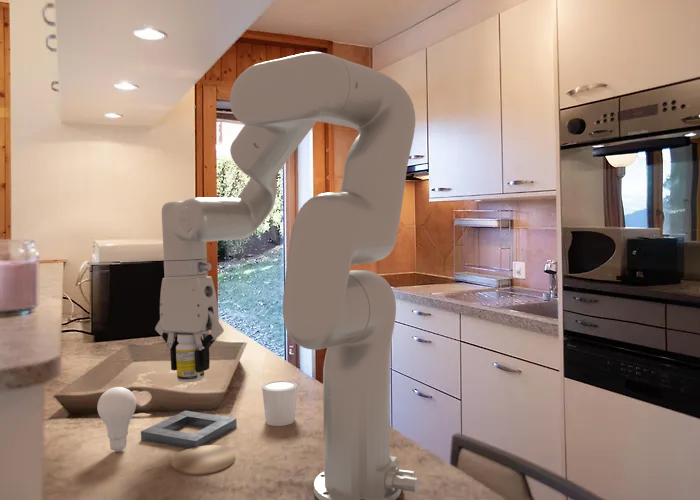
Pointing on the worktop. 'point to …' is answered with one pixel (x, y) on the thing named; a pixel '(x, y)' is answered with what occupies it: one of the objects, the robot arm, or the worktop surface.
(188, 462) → the coaster
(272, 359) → the worktop surface
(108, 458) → the worktop surface
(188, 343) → the supplement bottle
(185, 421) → the collar
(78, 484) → the worktop surface
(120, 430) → the lightbulb
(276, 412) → the white cup
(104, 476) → the worktop surface
